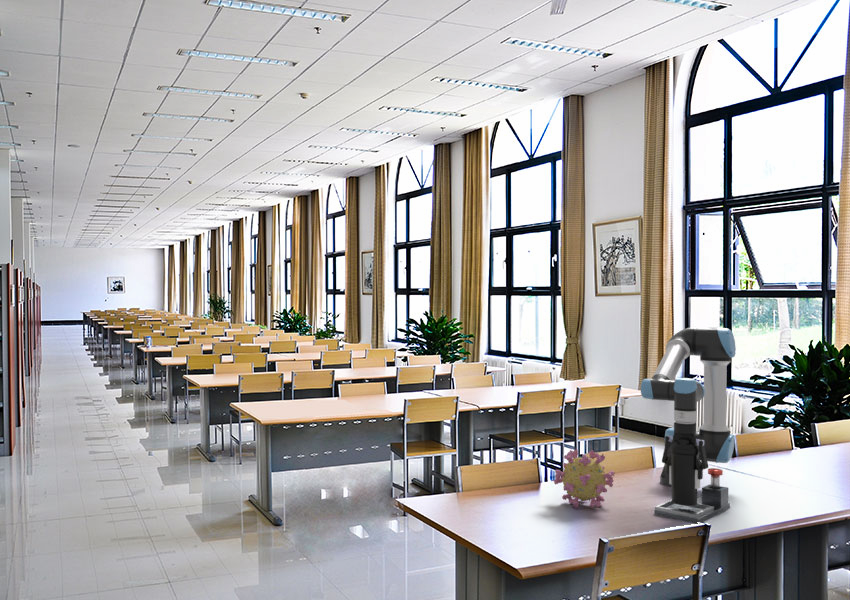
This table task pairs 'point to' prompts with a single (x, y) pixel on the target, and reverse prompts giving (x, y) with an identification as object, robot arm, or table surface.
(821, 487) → the table surface
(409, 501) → the table surface
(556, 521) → the table surface
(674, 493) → the water bottle
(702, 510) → the press
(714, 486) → the pin
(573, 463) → the educational model
